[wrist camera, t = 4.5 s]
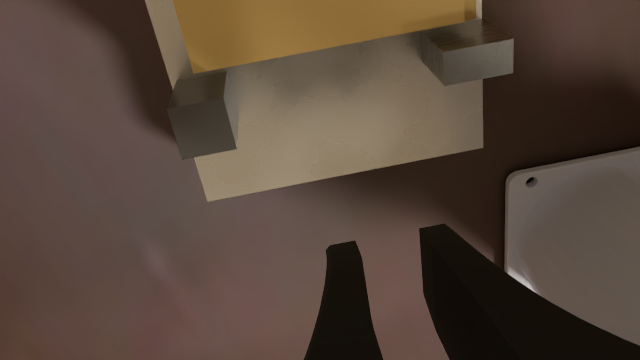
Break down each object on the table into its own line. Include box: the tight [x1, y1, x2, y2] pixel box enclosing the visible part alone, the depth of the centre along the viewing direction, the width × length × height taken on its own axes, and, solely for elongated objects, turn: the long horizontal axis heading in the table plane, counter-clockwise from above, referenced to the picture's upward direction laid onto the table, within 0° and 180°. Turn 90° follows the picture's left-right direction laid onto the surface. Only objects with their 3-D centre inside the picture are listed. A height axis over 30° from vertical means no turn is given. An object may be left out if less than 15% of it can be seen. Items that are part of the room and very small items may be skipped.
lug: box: [166, 71, 239, 160], centre depth 16 cm, size 2×2×2 cm
